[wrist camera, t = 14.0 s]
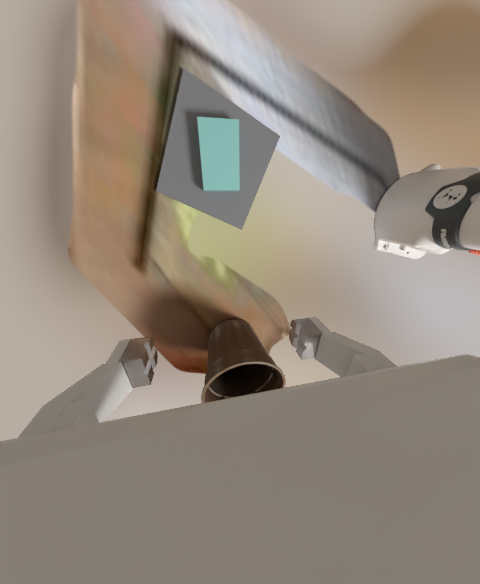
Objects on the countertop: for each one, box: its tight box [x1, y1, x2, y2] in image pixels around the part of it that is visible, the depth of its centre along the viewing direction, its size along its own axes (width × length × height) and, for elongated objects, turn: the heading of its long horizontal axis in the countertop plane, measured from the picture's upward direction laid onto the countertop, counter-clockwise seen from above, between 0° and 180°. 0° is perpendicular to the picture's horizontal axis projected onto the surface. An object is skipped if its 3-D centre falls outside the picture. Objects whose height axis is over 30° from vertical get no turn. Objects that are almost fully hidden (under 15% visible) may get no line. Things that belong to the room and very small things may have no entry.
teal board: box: [197, 117, 240, 191], centre depth 28 cm, size 2×6×9 cm
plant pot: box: [201, 319, 286, 403], centre depth 40 cm, size 16×16×16 cm
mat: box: [156, 68, 280, 229], centre depth 30 cm, size 16×16×1 cm
